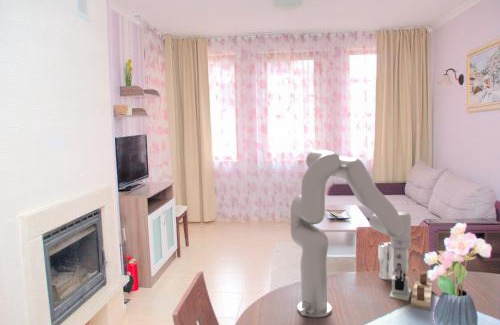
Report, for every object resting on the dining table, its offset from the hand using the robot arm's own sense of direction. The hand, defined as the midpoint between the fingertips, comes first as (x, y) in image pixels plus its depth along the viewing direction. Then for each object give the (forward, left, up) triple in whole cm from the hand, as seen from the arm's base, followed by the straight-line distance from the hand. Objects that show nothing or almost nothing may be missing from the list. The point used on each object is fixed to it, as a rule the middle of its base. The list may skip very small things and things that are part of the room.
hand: (400, 285), depth 155 cm
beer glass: (+15, +7, -4) cm, 17 cm away
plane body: (-1, -8, -3) cm, 9 cm away
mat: (0, 0, -3) cm, 3 cm away
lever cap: (0, 0, -3) cm, 3 cm away
